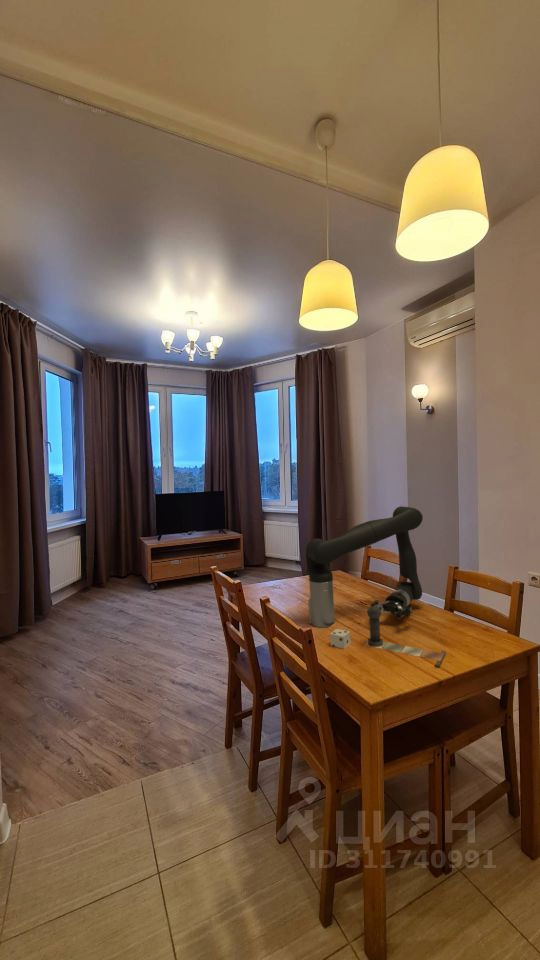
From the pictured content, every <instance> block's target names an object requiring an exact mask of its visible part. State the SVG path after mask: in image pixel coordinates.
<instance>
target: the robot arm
mask: <svg viewBox="0 0 540 960" xmlns="http://www.w3.org/2000/svg"><path fill="white" fill-rule="evenodd" d="M422 522H423V513H422V512H421V511H420V510H419V509H417V508H415V507H409V506H402V505H401V506H397V507H396V508H395V509H394V510H393V513H392V517H388V518H379V519H373V520H367V521H365V522H363V523H359V524H357V525H355V526H353V527H351V528H350V529H349V530H348V531H347V532H345V533H344V534H343V535H341V536H339V537H334V538H332V539H327V540H324V539H322V538H313V539H311V540H309V542H308V543H307V545H306V546H305V547H306V549H305V560H306V570H307V574H308V579H309V580H308V581H309V598H308V600H307V604H308V605H307V606H308V624H310V625H312V626H314V627H317V628H330V627H332V626H333V625H334V624H335V622H336V620H335V618H336V617H335V602H334V601H335V596H334V578H333V577H334V576H333V572H332V570H331V569H330V567H329V563H331V562H334V561H336V560H337V559H339V558H341V557H343V556H345V555H347V554H349V553H352V552H356V551H358V550H360V549H363V548H366V547H369V546H371V545H374V544H376V543H378V542H380V541H383V540H386V539H388V538H390V537H393V536H394V535H395V538H396V544H397V549H398V563H399V564H398V565H399V574H400V576H401V577H403V578H406V579H408V580H409V581H403V580H402V581H399V582H397V584H396V587H395V590H394V591H392V592H391V593H390V594H389V595H388V596H386V598H385V600H384V601H382V602H380V601H379V600H374V601H373V602H371V603H370V607H371V606H376V607H378V608H379V609H380V611H381V614H382V613H383V614H384V613H391V614H393V615H395V620H399V619H402V617H404V616H405V617H406V618H408V617H410V616H411V614H412V613H413V609H412V607H413V605H411V604H410V603H411V602H412V601H414V600H415V601H418V600H421V598H422V595H423V588H422V585H421V582H420V579H419V575H418V569H417V566H418V564H417V557H416V552H415V549H414V547H413V545H412V543H411V538H410V534H409V531H413V530H415V529H417V528H418V527H420V526H421V524H422Z"/></svg>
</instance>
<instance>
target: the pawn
mask: <svg viewBox="0 0 540 960" xmlns="http://www.w3.org/2000/svg"><path fill="white" fill-rule="evenodd" d="M366 614H367V616H368V619H369V620H368V621H369V638H367V642H368V644H369V645H370V646H369V647H371V646H374V647H373V648H375V647H379V646H382V645H383V642H384V641H383V639H382V638H381V629H380V628H381V627H380V617H381V615H382V613H381V611H380V609H379V608H378V607H376V606H371V605H370V606H369V608H367V612H366Z"/></svg>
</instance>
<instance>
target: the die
mask: <svg viewBox="0 0 540 960" xmlns="http://www.w3.org/2000/svg"><path fill="white" fill-rule="evenodd" d="M329 637H330V638H329V640H330V647H332V648H339V649H343V650H345V649H346V648H348V646H349V645H350V644H351V631H350V630H345V629H339V628H336V629H334V630H333V631H331V632H330V633H329Z"/></svg>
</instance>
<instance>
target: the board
mask: <svg viewBox="0 0 540 960" xmlns="http://www.w3.org/2000/svg"><path fill="white" fill-rule="evenodd" d="M364 646H366V647H367V646H368V647H372V648H376V649H380V650H381V649H382V650H385V651H391V652H394V653H395V652H396V653H401V654H404V655H410V656H415V657H421V658H424V659H429V660H432V661H436V662H435V664H434V667H435V668H438V669H439V668H441V665H442V664H443V660H444V659H445V656H446V655H447V651H446V650H444V649H443V650H441V652H439V651H433V650H428V649H422V648H419V647H413V646H409V645H402V644H399V643H398V644H397V643H393V642H389V641H388V642H386V641H383V645H382V646H379V647H374V646H370V645H369V644H368V641H366V643H365V644H364Z"/></svg>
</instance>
